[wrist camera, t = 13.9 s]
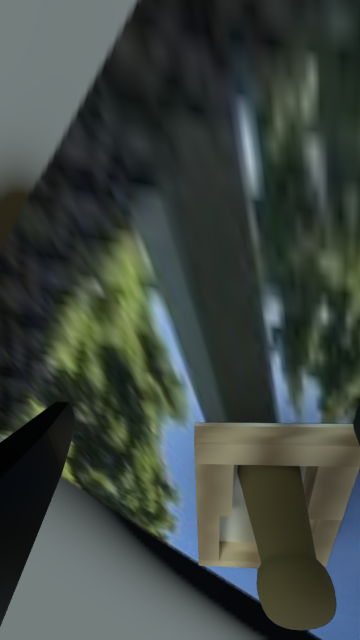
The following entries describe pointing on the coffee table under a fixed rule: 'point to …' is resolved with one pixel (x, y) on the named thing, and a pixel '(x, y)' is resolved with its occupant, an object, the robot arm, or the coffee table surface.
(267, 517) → the cork
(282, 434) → the keyhole plate
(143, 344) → the coffee table surface
